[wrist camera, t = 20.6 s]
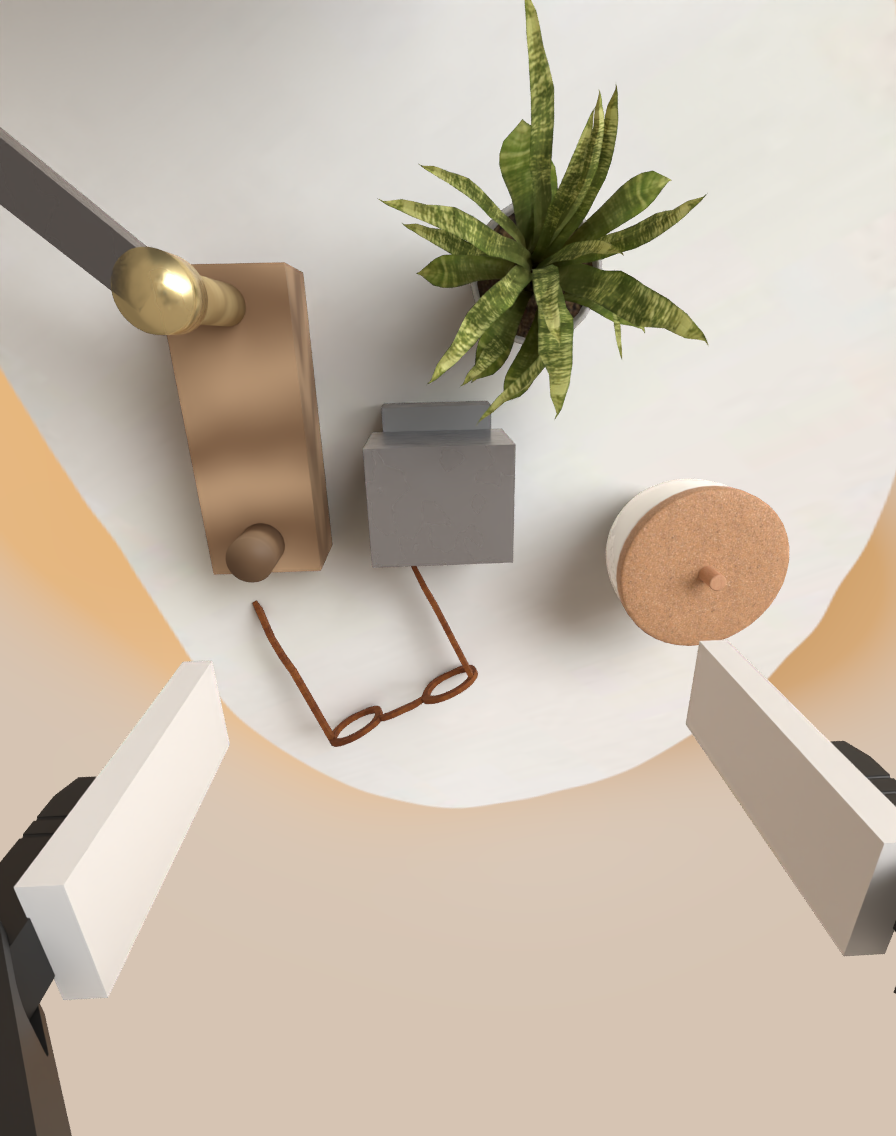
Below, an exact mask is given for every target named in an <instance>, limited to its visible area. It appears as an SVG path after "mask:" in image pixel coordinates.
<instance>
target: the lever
mask: <svg viewBox="0 0 896 1136" xmlns="http://www.w3.org/2000/svg"><path fill="white" fill-rule="evenodd" d="M0 204H1V205H2V206H3V207H4V208H6V209H7V210H8V211H10V212H11V213H12V214H13V215H15V216H16V217H17V218H19V219H20V220H21V221H22V222H24V223H25V224H26V225H28V226H29V227H30V228H31V229H33V230H34V231H35V232H37V233H38V234H39V235H40V236H42V237H43V238H44V239H46V240H47V241H48V242H49V243H51V244H52V245H53V246H55V247H56V248H57V249H58V250H60V251H61V252H62V253H64V254H65V255H66V256H67V257H69V258H70V259H71V260H73V261H74V262H75V263H76V264H78V265H79V266H80V267H82V268H83V269H84V270H85V271H87V272H88V273H89V274H91V275H92V276H93V277H95V278H96V279H97V280H98V281H100V282H101V283H102V284H104V285H105V286H106V287H107V288H109V289H110V290H111V291H112V295H113V298H114V301H115V303H116V305H117V307H118V309H119V311H120V312H121V314H122V315H123V316H124V317H125V318H126V319H127V321H129V322H130V323H131V324H132V325H133V326H135V327H136V328H138V329H140V330H142V331H144V332H146V333H150V334H155V335H183V334H187V333H190V332H192V331H193V330H195V329H196V328H197V327H198V326H199V325H200V324H201V323H202V321H203V320H204V318H205V315H206V312H207V308H208V295H207V290H206V287H205V284H204V282H203V280H202V278H201V276H200V275H199V273H198V272H197V270H196V269H195V268H194V267H193V266H192V265H191V264H190V263H188V262H187V261H186V260H184V259H182V258H181V257H179V256H176V255H174V254H171V253H168V252H165V251H162V250H159V249H156V248H152V247H147V246H145V245H144V244H143V243H142V242H141V241H139V240H138V239H137V238H136V237H134V236H133V235H132V234H131V233H129V232H128V231H127V230H126V229H125V228H123V227H122V226H121V225H120V224H118V223H117V222H116V221H115V220H114V219H112V218H111V217H110V216H109V215H107V214H106V213H105V212H104V211H102V210H101V209H100V208H99V207H98V206H96V205H95V204H94V203H93V202H91V201H90V200H89V199H88V198H87V197H85V196H84V195H83V194H82V193H80V192H79V191H78V190H77V189H75V188H74V187H73V186H72V185H71V184H69V183H68V182H67V181H66V180H64V179H63V178H62V177H61V176H60V175H58V174H57V173H56V172H55V171H53V170H52V169H51V168H50V167H48V166H47V165H46V164H45V163H44V162H42V161H41V160H40V159H39V158H37V157H36V156H35V155H34V154H33V153H31V152H30V151H29V150H28V149H26V148H25V147H24V146H23V145H21V144H20V143H19V142H18V141H17V140H15V139H14V138H13V137H12V136H10V135H9V134H8V133H7V132H6V131H4V130H3V129H2V128H1V127H0Z"/></svg>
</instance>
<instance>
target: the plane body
mask: <svg viewBox="0 0 896 1136" xmlns="http://www.w3.org/2000/svg"><path fill="white" fill-rule="evenodd" d="M191 265H192V266H193V267H194V268H195V269H196V270H197V272H198V273H199V275H200V276H201V278H202V280H203V282H204V284H205V287H206V290H207V295H208V308H207V312H206V315H205V318H204V320H203V321H202V323H201V324H200V325H199V326H198V327H197V328H196V329H195V330H193V331H192V332H190V333H187V334H183V335H167V339H168V344H169V349H170V354H171V359H172V364H173V369H174V374H175V379H176V384H177V390H178V395H179V400H180V405H181V410H182V415H183V420H184V425H185V430H186V435H187V440H188V446H189V451H190V456H191V461H192V466H193V471H194V476H195V481H196V486H197V491H198V497H199V502H200V507H201V512H202V517H203V522H204V527H205V532H206V537H207V542H208V548H209V553H210V558H211V563H212V568H213V573H214V574H233V575H234V576H235V577H237V578H238V579H240V580H242V581H246V582H259V581H262V580H264V579H265V578H267V577H268V576H269V574H270V573H271V572H296V571H321V569H322V567H323V565H324V562H325V560H326V558H327V556H328V553H329V551H330V549H331V547H332V537H331V528H330V519H329V510H328V500H327V491H326V482H325V472H324V463H323V454H322V444H321V435H320V426H319V417H318V407H317V398H316V389H315V379H314V370H313V361H312V351H311V342H310V333H309V324H308V314H307V305H306V296H305V286H304V277H303V272H301V271H299V270H297V269H295V268H294V267H292V266H290V265H288V264H286V263H285V262H282V263H236V264H191Z"/></svg>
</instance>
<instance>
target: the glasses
mask: <svg viewBox="0 0 896 1136" xmlns="http://www.w3.org/2000/svg"><path fill="white" fill-rule="evenodd" d="M411 567H412V570H413V572H414V574H415V576H416V578H417V580H418V582H419V584H420V586H421V588H422V590H423V592H424V594H425V595H426V597H427V599H428V601H429V602H430V604H431V606H432V608H433V610H434V612H435V614H436V615H437V617H438V619H439V621H440V623H441V625H442V627H443V629H444V631H445V633H446V635H447V637H448V639H449V640H450V642H451V644H452V646H453V648H454V650H455V652H456V654H457V656H458V658H459V660H460V662H461V664H462V666H460V667H457V668H455V669H453V670H451V671H449V672H446V673H444V674H442V675H440V676H438V677H437V678H435V679H434V680H433V681H431V682H430V683H429V684H428V685H427V687H426V688H425V690H424V692H423V694H422V696H421V697H420V698H418V699H416V700H414V701H413V702H410V703H408V704H406V705H404V706H401V707H399V708H397V709H395V710H393V711H390V712H388V713H385V714H383V712H382V710H381V708H380V706H372V707H369V708H366V709H364V710H362V711H360V712H357V713H355V714H353V715H351V716H350V717H348V718H346V719H345V720H344V721H342V722H341V723H340V724H339V725H338V726H337V727H336V728H335V729H334V730H333V731H332V730H331V728H330V726H329V725H328V723H327V721H326V719H325V718H324V716H323V714H322V712H321V711H320V709H319V707H318V705H317V704H316V702H315V700H314V699H313V697H312V695H311V693H310V692H309V690H308V688H307V686H306V685H305V683H304V681H303V679H302V678H301V676H300V674H299V673H298V671H297V669H296V668H295V666H294V665H293V664H292V662H291V661H290V659H289V658H288V657H287V655H286V654H285V652H284V651H283V649H282V647H281V646H280V644H279V642H278V641H277V639H276V638H275V636H274V633H273V631H272V629H271V626H270V624H269V622H268V620H267V617H266V615H265V613H264V610H263V608H262V607H261V606H260V604H259V603H258V602H257V601H255V602H253V603H252V604H253V606H254V608H255V611H256V613H257V615H258V617H259V620H260V622H261V624H262V627H263V629H264V631H265V634H266V636H267V638H268V640H269V642H270V643H271V645H272V647H273V649H274V650H275V652H276V654H277V655H278V657H279V659H280V660H281V662H282V663H283V664H284V666H285V667H286V669H287V670H288V672H289V673H290V674H291V676H292V678H293V680H294V681H295V683H296V685H297V686H298V688H299V690H300V692H301V693H302V695H303V697H304V699H305V700H306V702H307V704H308V705H309V707H310V709H311V711H312V712H313V714H314V716H315V718H316V719H317V721H318V723H319V724H320V726H321V728H322V730H323V731H324V733H325V735H326V736H327V738H328V740H329V742H330V743H331V745H332V746H334V747H338V746H342V745H346V744H348V743H351V742H353V741H355V740H357V739H359V738H361V737H362V736H364V735H365V734H367V733H368V732H370V731H371V730H372V729H374V728H375V727H376V726H377V725H378V724H379V723H380V722H381V721H386V720H389V719H392V718H394V717H397V716H399V715H401V714H403V713H406V712H408V711H410V710H412V709H414V708H416V707H418V706H419V705H421V704H422V703H423V702H424V703H425V704H435V703H439V702H442V701H445V700H448V699H450V698H452V697H454V696H456V695H458V694H460V693H461V692H463V691H464V690H466V689H467V688H468V687H470V686H471V685H472V684H473V683H474V681H475V680H476V678H477V676H478V672H477V670H476V668H475V667H474V666H473V665H469V664H468V662H467V660H466V658H465V656H464V654H463V652H462V650H461V648H460V647H459V645H458V643H457V641H456V639H455V637H454V635H453V633H452V631H451V629H450V627H449V625H448V623H447V621H446V619H445V617H444V616H443V614H442V612H441V610H440V608H439V606H438V604H437V602H436V600H435V599H434V597H433V595H432V594H431V592H430V590H429V589H428V587H427V585H426V583H425V581H424V580H423V578H422V576H421V574H420V572H419V570H418V568H417V566H411ZM465 672H466V673H467V675H468V678H467V679H466V680H465V681H464V682H463V683H462V684H460V685H459V686H457V687H456V688H454V689H452V690H450V691H448V692H446V693H443V694H440V695H436V696H430V695H431V692H432V691H433V689H434V688H435V687H436V686H437V685H438V684H440V683H441V682H443V681H444V680H446V679H448V678H450V677H452V676H454V675H457V674H460V673H465ZM373 713H375V716H374V718H373V719H372V721H371V722H370V723H369V724H367V725H366V726H365V727H363V728H362V729H360V730H359V731H357V732H355V733H353V734H351V735H349V736H347V737H343V738H337V737H338V735H339V733H340V732H341V731H342V730H343V729H344V728H345V727H346V726H347V725H349V724H350V723H352V722H353V721H355V720H357V719H359V718H361V717H363V716H365V715H368V714H373Z"/></svg>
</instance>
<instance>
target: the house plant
mask: <svg viewBox="0 0 896 1136" xmlns="http://www.w3.org/2000/svg"><path fill="white" fill-rule="evenodd" d="M525 12H526V34H527V44H528V55H529V75H530V91H531V125H529V124H528V123H526V122H525V121H524V120H523V119H522V120H521V122H520V123H519V124H518V125H517V127H516V128H515V129H514V130H513V131H512V132H511V133H510V134H509V136H508V137H507V138H506V139H505V140H504V141H503V144H502V147H501V151H500V160H499V165H500V169H501V173H502V177H503V179H504V181H505V184H506V186H507V189H508V191H509V194H510V196H511V199H512V204H510V205H509V206H507V207H506V208H504V209H503V210H500V209H499V208H498V207H497V206H496V205H495V204H494V203H493V201H492V200H491V199H490V198H489V197H488V196H487V195H486V194H485V193H484V192H483V191H482V190H481V189H480V188H479V187H478V186H477V185H476V184H475V183H473V182H472V181H471V180H470V179H469V178H466V177H464V176H461V175H458V174H455V173H451V172H448V171H446V170H443V169H441V168H438V167H435V166H422V165H420V164H419V163H418V164H419V165H420V166H421V167H423V168H424V169H426V170H427V171H429V172H431V173H432V174H434V175H435V176H437V177H438V178H440V179H442V180H444V181H445V182H447V183H449V184H450V185H452V186H453V187H455V188H456V189H458V190H459V191H460V192H462V193H463V194H465V195H466V196H468V197H469V198H470V199H472V200H473V201H474V202H476V203H477V204H478V205H479V206H480V207H481V208H482V209H483V210H484V211H485V212H486V213H487V215H488V216H489V217H490V218H492V220H491V221H490V222H489V223H488V224H487V225H485V224H484V223H482V222H481V221H479V220H478V219H476V218H474V217H473V216H471V215H469V214H467V213H465V212H463V211H461V210H459V209H458V208H456V207H448V206H440V205H426V204H422V203H418V202H414V201H408V200H403V199H400V200H392V201H382V200H380V199H379V200H380V201H382V202H383V203H385V204H386V205H388V206H390V207H393V208H395V209H397V210H400V211H402V212H404V213H406V214H408V215H410V216H412V217H414V218H417V219H420V220H422V221H425V222H427V223H429V224H431V225H434V226H436V227H438V228H440V229H435V228H429V227H426V226H423V225H419V224H403V223H402V224H403V225H404V226H405V227H407V228H408V229H410V230H412V231H413V232H415V233H416V234H418V235H419V236H421V237H423V238H425V239H427V240H428V241H430V242H432V243H433V244H435V245H437V246H438V247H440V248H442V249H444V250H445V251H447V252H449V253H451V255H442V256H440V257H438V258H436V259H434V260H433V261H432V262H430V263H429V264H428V265H427V266H426V267H425V268H423V269H422V270H421V271H420V272H418V273H416V274H419V275H421V276H422V277H424V278H425V279H426V280H427V281H429V282H430V283H431V284H432V285H434V286H438V287H442V288H453V287H459V286H463V285H466V284H469V283H471V288H472V292H473V296H474V300H475V305H474V306H473V307H472V308H471V309H470V311H469V312H468V313H467V314H466V316H465V318H464V320H463V322H462V324H461V327H460V329H459V331H458V333H457V335H456V337H455V339H454V341H453V343H452V344H451V346H450V347H449V349H448V350H447V351H446V353H445V354H444V355H443V357H442V358H441V360H440V361H439V362H438V364H437V366H436V368H435V371H434V374H433V376H432V379H431V381H430V382H429V383H431V382H433V381H435V380H436V379H437V378H439V377H440V376H441V375H442V374H443V373H445V372H446V371H447V370H448V369H450V368H451V367H452V366H453V365H454V364H455V363H456V362H457V361H458V360H459V359H460V358H461V357H462V356H463V355H464V354H465V353H466V352H467V351H468V350H469V349H470V348H471V347H472V346H473V345H474V344H475V343H476V342H477V341H478V339H479V338H480V339H479V341H478V346H477V350H476V359H475V365H474V367H473V368H472V369H471V370H470V371H469V373H468V374H467V375H466V378H465V380H464V383H463V385H465V384H466V383H468V382H469V381H470V380H472V382H473V381H475V380H476V379H479V378H483V377H486V376H490V375H493V374H494V373H495V372H496V371H498V370H499V369H500V368H501V367H502V365H503V364H504V363H505V361H506V360H507V358H508V356H509V354H510V352H511V349H512V346H513V343H514V342H516V343H520V344H522V346H521V349H520V351H519V352H518V354H517V356H516V358H515V359H514V361H513V363H512V365H511V366H510V368H509V370H508V372H507V374H506V376H505V381H504V392H503V393H501V394H500V395H499V396H498V397H497V398H496V400H495V401H494V402H493V403H492V404H491V406H490V407H489V408H488V409H487V411H486V412H485V413H484V414H483V415H482V417H481V418H480V420H479V421H478V422H480V421H481V420H482V419H484V418H485V417H487V416H489V415H490V414H491V413H493V412H494V411H495V410H496V409H497V408H498V407H499V406H501V405H502V404H503V403H504V402H506V401H508V400H511V399H514V398H517V397H520V396H521V395H522V394H523V393H524V392H526V391H527V390H528V388H529V387H530V385H531V384H532V383H533V381H534V380H535V378H536V377H537V376H538V375H539V374H540V373H541V371H542V370H543V369H544V368H545V367H546V369H547V371H548V373H549V381H550V395H551V399H552V401H553V404H554V406H555V409H556V413H557V415H556V417H557V416H558V414H559V412H560V411H561V409H562V406H563V403H564V400H565V396H566V393H567V390H568V387H569V384H570V376H571V369H572V350H573V331H574V329H575V328H576V327H577V326H578V325H579V324H580V323H581V322H582V321H583V320H584V318H585V317H586V316H587V314H588V312H589V310H590V309H591V310H593V311H595V312H597V313H598V314H600V315H602V316H604V317H605V318H607V319H609V320H611V321H613V322H614V328H615V334H616V340H617V345H618V348H619V352H620V356H621V358H622V346H621V328H620V324H623V325H629V326H634V327H637V328H640V329H642V330H643V331H644V333H645V329H644V327H655V328H665V329H667V330H669V331H671V332H673V333H675V334H677V335H680V336H682V337H684V338H688V339H698V340H703V341H705V342H706V343H707V340H706V338H705V336H704V334H703V332H702V331H701V330H700V329H699V328H698V326H697V325H696V324H695V323H694V322H693V321H692V319H691V318H690V317H689V316H688V315H687V313H685V312H684V311H683V310H681V309H680V308H679V307H677V306H676V305H675V304H674V303H672V302H671V301H670V300H669V299H667V298H666V297H664V296H662V295H660V294H659V293H657V292H655V291H653V290H652V289H650V288H648V287H647V286H645V285H643V284H642V283H641V282H639V281H638V280H636V279H635V278H634V277H632V276H630V275H628V274H626V273H624V272H622V271H604V270H602V259H604V258H607V257H610V256H612V255H615V254H618V253H621V254H622V255H623V253H622V252H625V251H628V250H632V249H635V248H637V247H639V246H641V245H643V244H645V243H648V242H650V241H651V240H653V239H654V238H656V237H658V236H659V235H661V234H662V233H664V232H665V231H666V230H668V229H669V228H671V227H672V226H673V225H675V224H676V223H677V222H679V221H680V220H681V219H682V218H684V217H685V216H686V215H687V214H688V213H689V212H690V211H691V210H692V209H693V208H694V207H695V206H696V205H697V204H698V203H699V202H701V200H702V199H703V198H704V197H705V196H706V195H705V196H704V197H701V198H697V199H693V200H690V201H687V202H685V203H684V204H682V205H680V206H679V207H677V208H675V209H673V210H669V211H663V212H660V213H656V214H654V215H652V216H650V217H648V218H647V219H645V220H643V221H641V222H639V223H637V224H636V225H633V226H631V227H629V228H626V229H624V230H621V231H618V232H615V233H611V234H608V233H609V232H610V231H612V230H614V229H615V228H617V227H619V226H620V225H622V224H623V223H625V222H627V221H628V220H630V219H632V218H633V217H635V216H636V215H638V214H639V213H641V212H642V211H644V210H645V209H646V208H647V207H648V206H649V205H650V204H651V203H652V202H653V201H654V200H655V199H656V197H657V196H658V194H659V193H660V192H661V190H662V189H663V188H664V187H665V185H666V184H667V183H668V182H669V181H671V179H669V178H667V177H665V176H663V175H661V174H659V173H656V172H654V171H649V172H644V173H641V174H639V175H637V176H635V177H633V178H631V179H630V180H629V181H627V182H626V183H625V184H624V185H622V186H621V187H620V188H619V189H618V190H617V191H616V192H615V193H614V194H613V195H612V196H611V197H610V198H609V199H608V200H607V201H606V202H605V203H604V204H603V205H602V206H601V207H600V208H599V209H598V210H597V211H596V212H595V213H594V214H593V215H592V216H591V217H590V218H589V219H588V220H586V219H585V217H586V215H587V213H588V212H589V210H590V208H591V206H592V204H593V202H594V200H595V198H596V196H597V194H598V192H599V190H600V188H601V186H602V184H603V183H604V181H605V179H606V176H607V173H608V170H609V167H610V164H611V160H612V156H613V152H614V147H615V141H616V135H617V126H618V92H617V86H616V89H615V91H614V94H613V96H612V98H611V100H610V102H609V104H608V106H607V110H606V114H605V119H604V112H603V107H602V99H601V94H600V91H599V96H598V100H597V104H596V107H595V108H594V109H595V114H594V127H593V113H594V110H593V111H592V113H591V115H590V117H589V119H588V122H587V124H586V126H585V128H584V130H583V132H582V134H581V137H580V139H579V142H578V144H577V147H576V149H575V151H574V154H573V156H572V158H571V161H570V163H569V166H568V168H567V170H566V173H565V175H564V177H563V179H562V182H561V184H560V186H559V188H558V187H557V176H556V170H555V166H554V164H553V162H552V160H551V158H552V144H553V128H554V85H553V81H552V77H551V73H550V68H549V64H548V61H547V57H546V54H545V50H544V47H543V42H542V36H541V31H540V26H539V21H538V17H537V12H536V10H535V8H534V5H533V3H532V1H531V0H525ZM592 128H593V129H592ZM606 234H608V235H606ZM463 239H464V240H463ZM465 240H466V241H465ZM467 241H468V242H467ZM623 256H624V255H623ZM707 345H708V343H707ZM472 382H471V383H472ZM429 383H428V384H429ZM426 385H427V384H426ZM463 385H461V386H463ZM556 417H555V418H556ZM554 420H555V419H554ZM477 424H478V423H477ZM476 426H477V425H476Z"/></svg>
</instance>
